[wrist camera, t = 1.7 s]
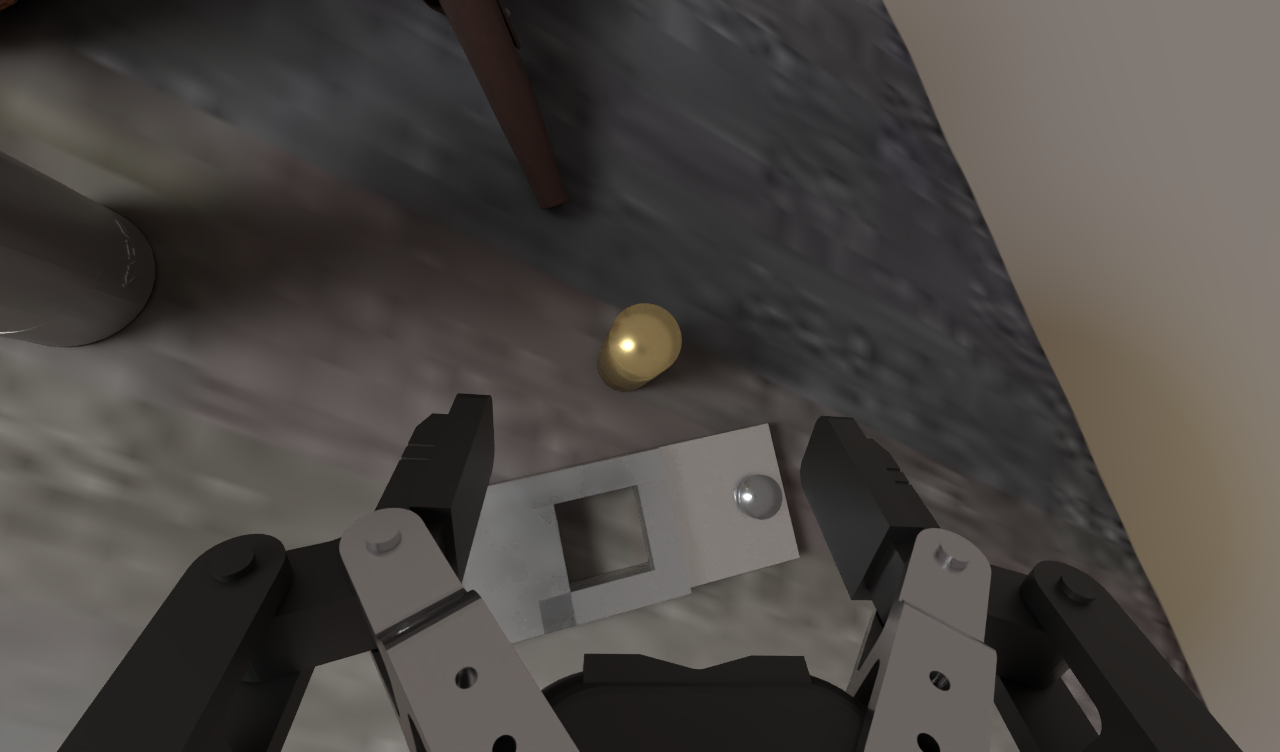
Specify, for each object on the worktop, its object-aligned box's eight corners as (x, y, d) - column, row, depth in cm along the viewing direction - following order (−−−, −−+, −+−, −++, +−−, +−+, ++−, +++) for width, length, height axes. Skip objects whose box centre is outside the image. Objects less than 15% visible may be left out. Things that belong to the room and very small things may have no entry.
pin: (603, 396, 37) (618, 381, 28) (592, 342, 38) (603, 309, 29) (657, 385, 38) (688, 367, 29) (646, 332, 38) (673, 297, 29)
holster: (542, 186, 51) (413, -152, 39) (588, 195, 36) (406, -331, 25) (493, 205, 50) (345, -136, 38) (520, 222, 35) (298, -312, 24)
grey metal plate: (414, 657, 33) (399, 679, 30) (390, 506, 34) (372, 512, 31) (792, 554, 38) (813, 563, 35) (761, 424, 39) (779, 422, 36)
